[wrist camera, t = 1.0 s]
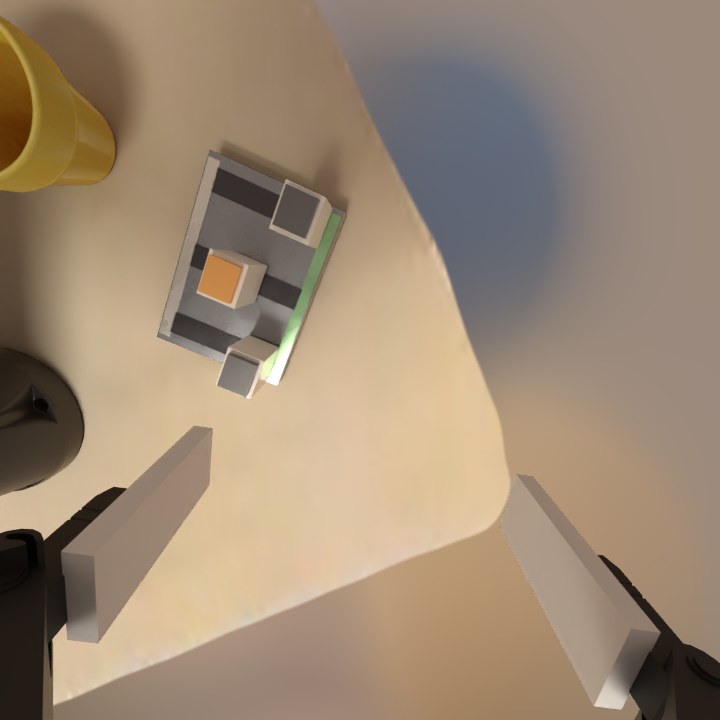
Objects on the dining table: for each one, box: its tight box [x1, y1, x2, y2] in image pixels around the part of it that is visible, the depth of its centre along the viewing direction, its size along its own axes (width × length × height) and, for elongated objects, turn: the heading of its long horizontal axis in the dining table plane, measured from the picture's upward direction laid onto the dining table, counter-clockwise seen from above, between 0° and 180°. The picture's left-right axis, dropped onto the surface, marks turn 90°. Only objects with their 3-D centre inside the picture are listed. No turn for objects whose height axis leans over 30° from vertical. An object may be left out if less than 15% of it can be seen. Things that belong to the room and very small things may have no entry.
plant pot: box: [0, 16, 115, 192], centre depth 25 cm, size 10×10×10 cm
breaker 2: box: [215, 335, 279, 399], centre depth 30 cm, size 3×4×6 cm
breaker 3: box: [269, 179, 333, 249], centre depth 27 cm, size 3×4×6 cm
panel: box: [157, 150, 346, 385], centre depth 32 cm, size 12×17×2 cm
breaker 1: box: [197, 248, 267, 309], centre depth 28 cm, size 3×4×6 cm
